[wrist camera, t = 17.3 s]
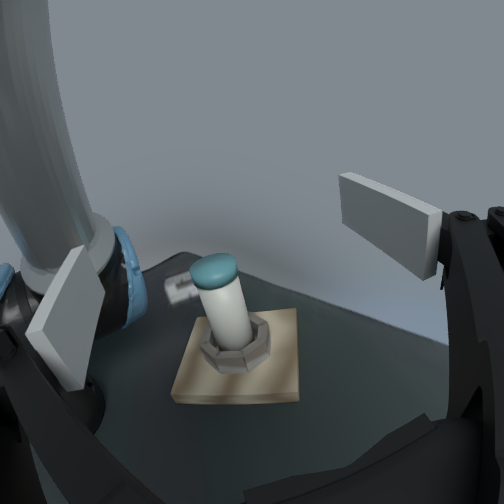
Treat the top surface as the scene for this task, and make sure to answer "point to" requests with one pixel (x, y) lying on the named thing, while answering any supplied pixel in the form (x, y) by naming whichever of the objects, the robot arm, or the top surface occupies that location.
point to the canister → (223, 300)
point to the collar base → (242, 364)
